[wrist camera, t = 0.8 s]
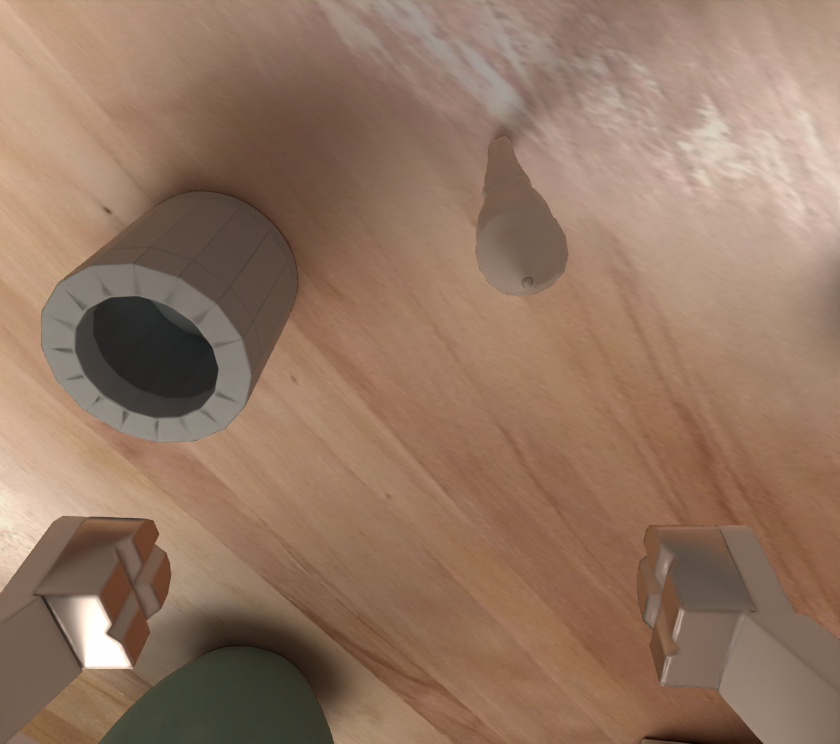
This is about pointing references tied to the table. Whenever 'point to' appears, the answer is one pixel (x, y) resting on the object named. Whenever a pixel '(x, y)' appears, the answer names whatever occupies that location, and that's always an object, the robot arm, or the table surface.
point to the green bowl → (226, 704)
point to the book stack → (659, 742)
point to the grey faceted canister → (173, 318)
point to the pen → (516, 229)
